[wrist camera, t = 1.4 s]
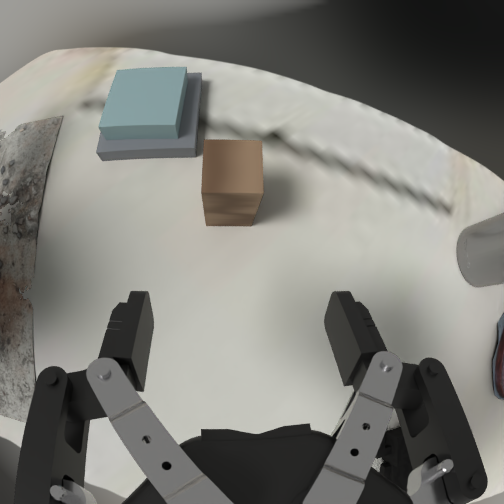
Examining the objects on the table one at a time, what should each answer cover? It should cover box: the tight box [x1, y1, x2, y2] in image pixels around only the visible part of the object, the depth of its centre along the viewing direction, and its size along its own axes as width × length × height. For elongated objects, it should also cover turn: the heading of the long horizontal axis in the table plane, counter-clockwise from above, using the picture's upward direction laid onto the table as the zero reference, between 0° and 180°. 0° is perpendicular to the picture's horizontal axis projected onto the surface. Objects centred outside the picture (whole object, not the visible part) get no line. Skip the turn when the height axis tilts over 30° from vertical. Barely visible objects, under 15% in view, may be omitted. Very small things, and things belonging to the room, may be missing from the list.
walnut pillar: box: [201, 140, 264, 226], centre depth 30 cm, size 5×5×10 cm
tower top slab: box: [99, 67, 188, 140], centre depth 33 cm, size 9×9×3 cm
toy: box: [375, 427, 413, 493], centre depth 29 cm, size 8×6×30 cm
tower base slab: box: [96, 73, 202, 161], centre depth 36 cm, size 12×12×3 cm
